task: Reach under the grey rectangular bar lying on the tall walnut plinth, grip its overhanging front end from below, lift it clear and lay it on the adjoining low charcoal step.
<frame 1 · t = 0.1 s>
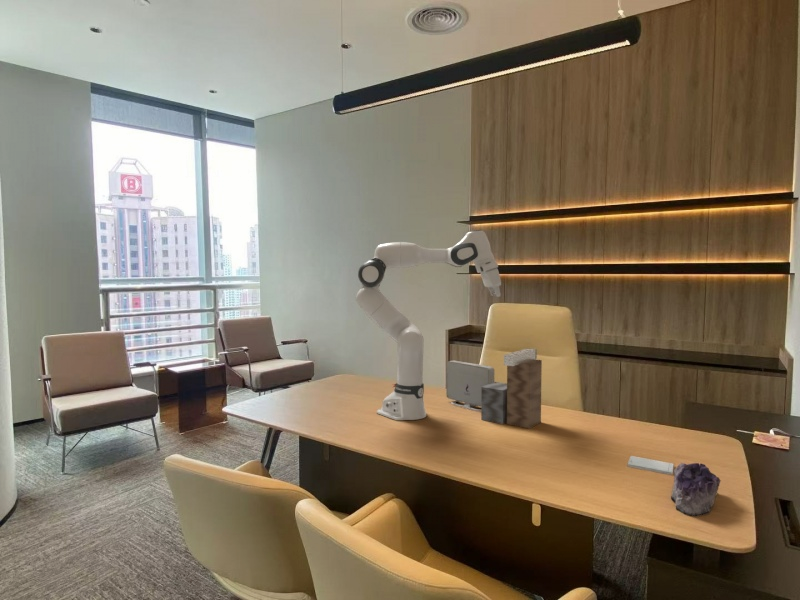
hand: (496, 296, 205), 52 cm above the table, fingers open, 8 cm apart
two-tier stand: (511, 420, 199), on the table
grey rectangular bar: (520, 361, 192), point 26 cm above the table, touching two-tier stand
geode: (694, 502, 127), on the table
network device: (469, 406, 222), on the table
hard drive: (650, 468, 151), on the table
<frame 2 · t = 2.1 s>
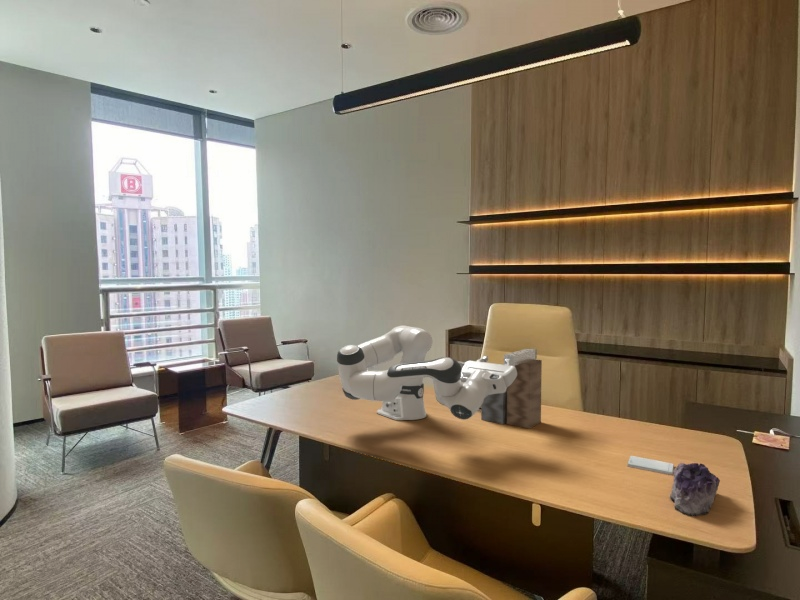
hand: (497, 358, 177), 30 cm above the table, fingers open, 8 cm apart
nothing on the table moved.
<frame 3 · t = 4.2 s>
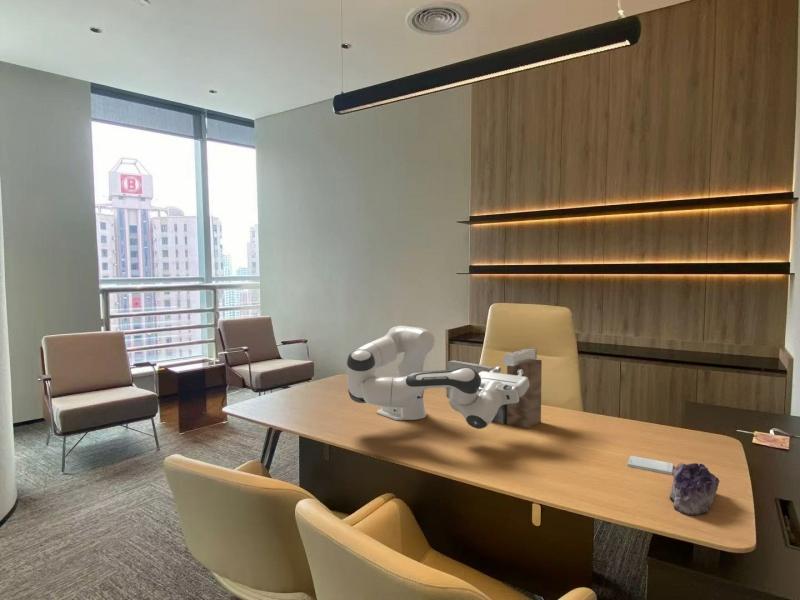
hand: (509, 369, 183), 25 cm above the table, fingers open, 8 cm apart
nothing on the table moved.
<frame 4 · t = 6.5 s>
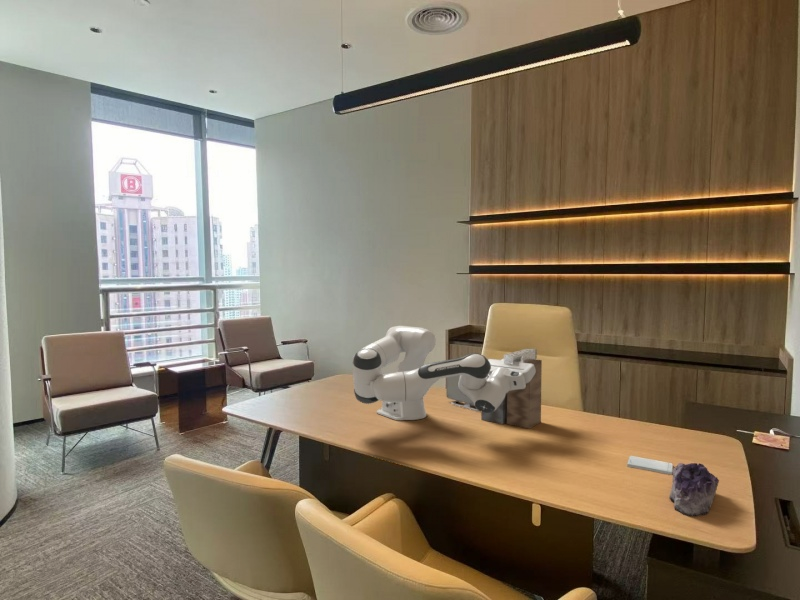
hand: (516, 357, 189), 28 cm above the table, fingers closed on grey rectangular bar, 4 cm apart
grey rectangular bar: (520, 361, 192), point 26 cm above the table, touching gripper, two-tier stand
everything else where it was.
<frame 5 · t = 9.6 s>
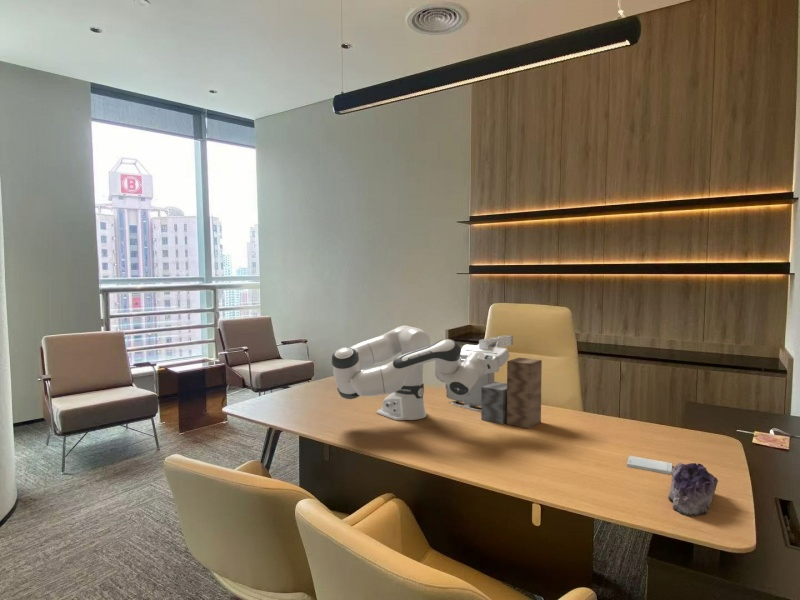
hand: (491, 342, 196), 33 cm above the table, fingers closed on grey rectangular bar, 4 cm apart
grey rectangular bar: (496, 347, 199), point 31 cm above the table, touching gripper
everything else where it was.
when the fingers open (19 cm above the table, at t = 13.2 s): grey rectangular bar drops 3 cm, resting on two-tier stand.
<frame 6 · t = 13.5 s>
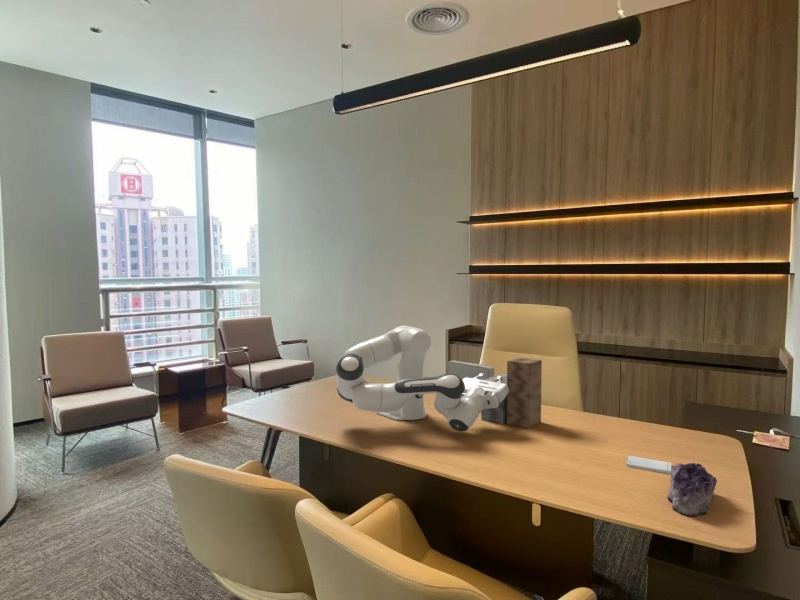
hand: (491, 375, 196), 19 cm above the table, fingers open, 7 cm apart
grey rectangular bar: (496, 387, 200), point 14 cm above the table, touching two-tier stand
everything else where it was.
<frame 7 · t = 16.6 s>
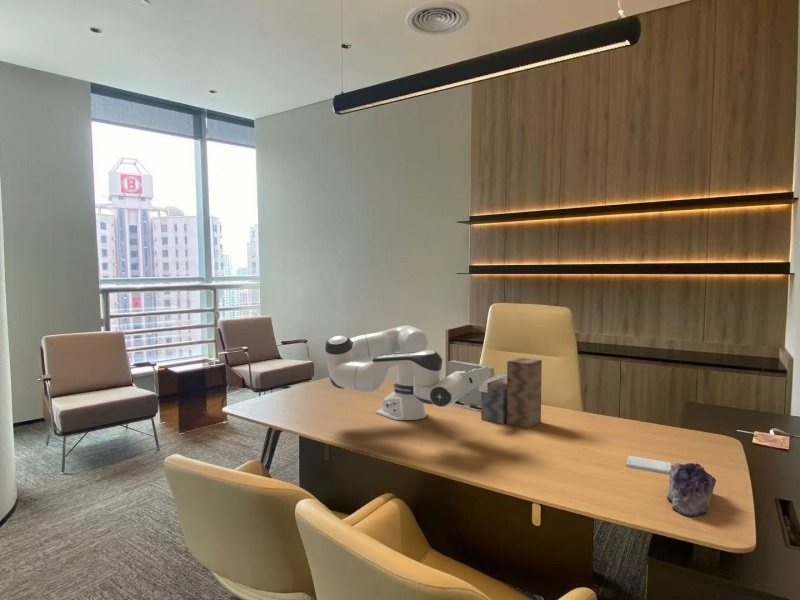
hand: (472, 373, 185), 22 cm above the table, fingers open, 8 cm apart
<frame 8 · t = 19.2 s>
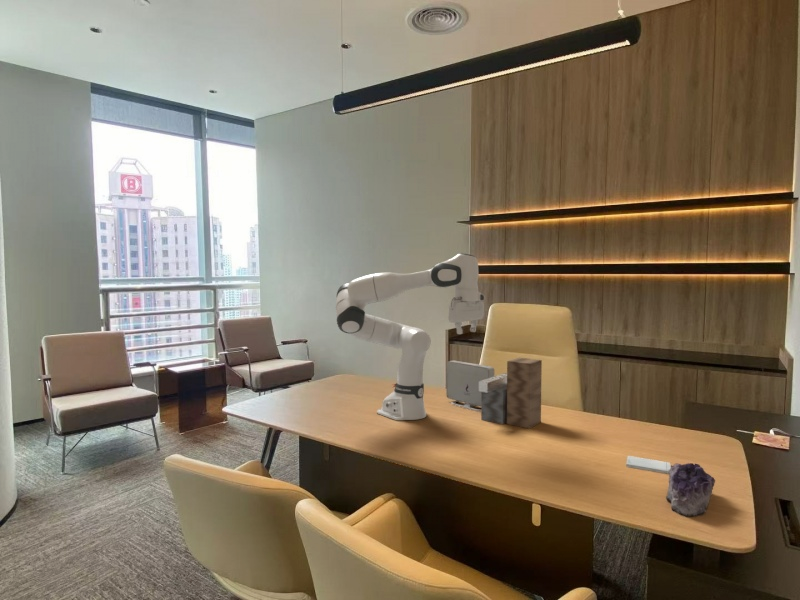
hand: (466, 332, 180), 39 cm above the table, fingers open, 8 cm apart
at the end: grey rectangular bar inside the target area (0.6 cm from its centre), point 14.0 cm above the table; the gripper is holding nothing; grey rectangular bar tilted 0° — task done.
